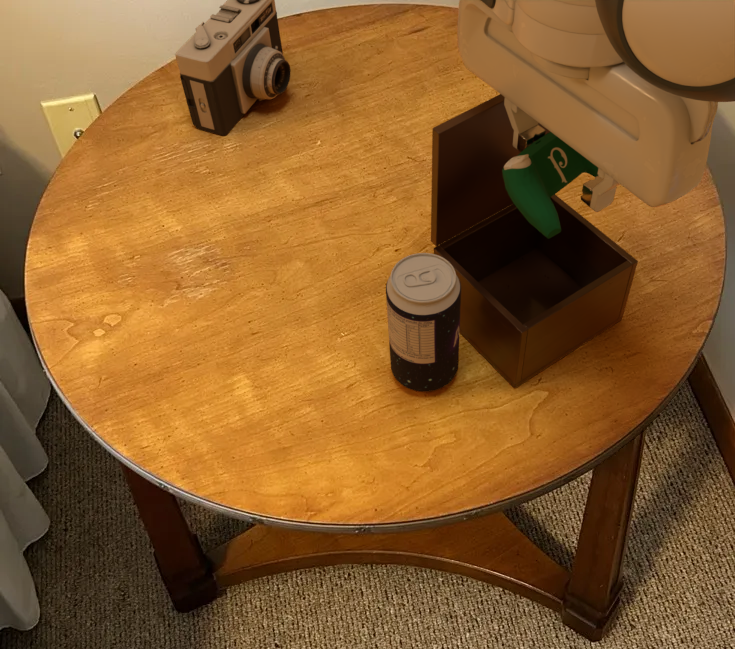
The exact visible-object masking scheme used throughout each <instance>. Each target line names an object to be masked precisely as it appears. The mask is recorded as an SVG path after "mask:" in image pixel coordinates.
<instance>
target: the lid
mask: <svg viewBox="0 0 735 649" xmlns="http://www.w3.org/2000/svg"><path fill="white" fill-rule="evenodd" d="M504 99H505V97H504V96H503V95H501V94H500V93H498V95H495V96H494V97H492V98H489V99H488V100H485V101H483V102H482V103H479V104H478V105H476V106H474V107H472V108H469V109H467V110H466V111H463V112H462V113H459V114H458V115H456V116H454V117H452V118H449V119H448V120H446V121H443V122H442V123H439V124H438V125H435V126H434V127H433V128H432V129H431V130H432V134H431V135H432V136H431V140H432V141H431V193H430V194H431V195H430V196H431V198H430V199H431V202H430V203H431V204H430V243H431V244H433V245H434V247H436V246H438V245H440V244H442V243H444V242H445V241H447V240H449V239H451V238H453V237H454V236H456V235H458V234H460V233H462V232H463V231H465V230H467V229H469V228H471V227H472V226H474V225H476V224H478V223H480V222H481V221H483V220H485V219H487V218H489V217H490V216H492V215H494V214H496V213H498V212H499V211H501V210H503V209H505V208H507V207H508V206H510V205H512V204H514V203H513V201H512V200H511V198H510V196H509V195H508V192H507V190H506V189H505V183H504V179H503V173H502V169H503V168H504V165H505V164H506V163H507V162H508V161H509V160H510V159H511V158H513V157H516V156H518V155H519V154H520V153H521V152H520V151H519V150H517V149H516V148H515V147H513V135H514V129H513V128H512V125H511V122H510V120H509V117H508V114H507V111H506V108H505V105H504ZM538 125H539V126H541V127H542V128H543V129H544V130H545V135H546V134H547V133H549V132H550V131H549V130H548V129H546V128H545V127H544V126H542V125H541V124H540V123H538Z"/></svg>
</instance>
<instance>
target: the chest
mask: <svg viewBox="0 0 735 649" xmlns="http://www.w3.org/2000/svg"><path fill="white" fill-rule="evenodd" d="M550 199H551V201H552V202H553V204H554V206H555V209H556V211H557V213H558V217H559V222H560V226H561V232H560V233H558V234H556V235H555V236H553V237H551V238H549V239H548V238H547V237H545V236H544V235H543V234H542V233H541V232H539V231H538V230H537V229H536V228H535V227H534V226H533V225H531V224H530V223H529V222H528V221H527V219H526V218H525V217H524V216H523V214H522V213H521V212H520V211H519V209H518V208H517V207H516V206H515V205H514V204H512V205H510V206H508V207H506V208H505V209H503V210H501V211H499V212H497V213H496V214H494V215H492V216H490V217H488V218H487V219H485V220H483V221H481V222H479V223H478V224H476V225H474V226H472V227H471V228H469V229H467V230H465V231H463V232H462V233H460V234H458V235H456V236H454V237H453V238H451V239H449V240H447V241H445V242H444V243H442V244H440V245H438V246H434V247H433V254H435V255H438V256H441V257H443V258H444V259H446V260H447V261H448V262H450V264H451V265H452V266H453V268H454V270H455V272H456V275H457V276H458V278H459V280H460V283H461V306H460V332H459V334H460V335H462V337H463V338H465V339H466V340H467V342H468V343H470V344H471V345H472V347H474V349H475V350H476V351H477V352H478V353H479V354H480V355H481V356H482V357H483V359H485V360H486V361H487V362H488V363H489V364H490V365H491V367H493V368H494V369H495V370H496V371H497V373H499V374H500V376H502V378H504V379H505V381H506V382H508V383H509V385H511V386H512V387H513V388H514V389H516V388H518V387H519V386H521V385H523V384H524V383H526V382H528V381H529V380H531V379H532V378H533V377H535V376H537V375H538V374H540V373H541V372H543V371H545V370H546V369H548V368H549V367H551V366H552V365H554V364H556V363H557V362H558V361H560V360H562V359H563V358H565V357H566V356H568V355H569V354H571V353H573V352H574V351H576V350H577V349H578V348H580V347H582V346H583V345H585V344H587V343H588V342H590V341H592V340H593V339H594V338H596V337H597V336H599V335H600V334H602V333H603V332H605V331H607V330H608V329H610V328H612V327H613V326H615V325H616V324H618V323H619V322H621V321H622V320H623V318H624V315H625V312H626V311H625V310H626V308H627V303H628V301H629V300H628V299H629V297H630V292H631V288H632V285H633V281H634V277H635V274H636V269H637V266H638V264H639V261H638V260H637V259H636V258H635V257H634V256H632V255H631V254H630V253H629V252H627V251H626V250H625V249H624V248H623V247H621V246H620V245H619V244H618V243H616V242H615V241H614V240H613V239H611V238H610V236H608V235H606V234H605V233H604V232H603V231H602V230H600V228H598V227H596V226H595V225H594V224H593V223H591V222H590V221H589V220H588V219H586V218H585V217H584V216H582V215H581V214H580V213H579V212H578V211H576V209H574V208H573V207H572V206H570V205H569V204H568V203H567V202H565V201H564V200H563V199H562V198H561V197H559V196H558V195H557V194H555V195H553V196H552V197H550Z"/></svg>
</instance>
